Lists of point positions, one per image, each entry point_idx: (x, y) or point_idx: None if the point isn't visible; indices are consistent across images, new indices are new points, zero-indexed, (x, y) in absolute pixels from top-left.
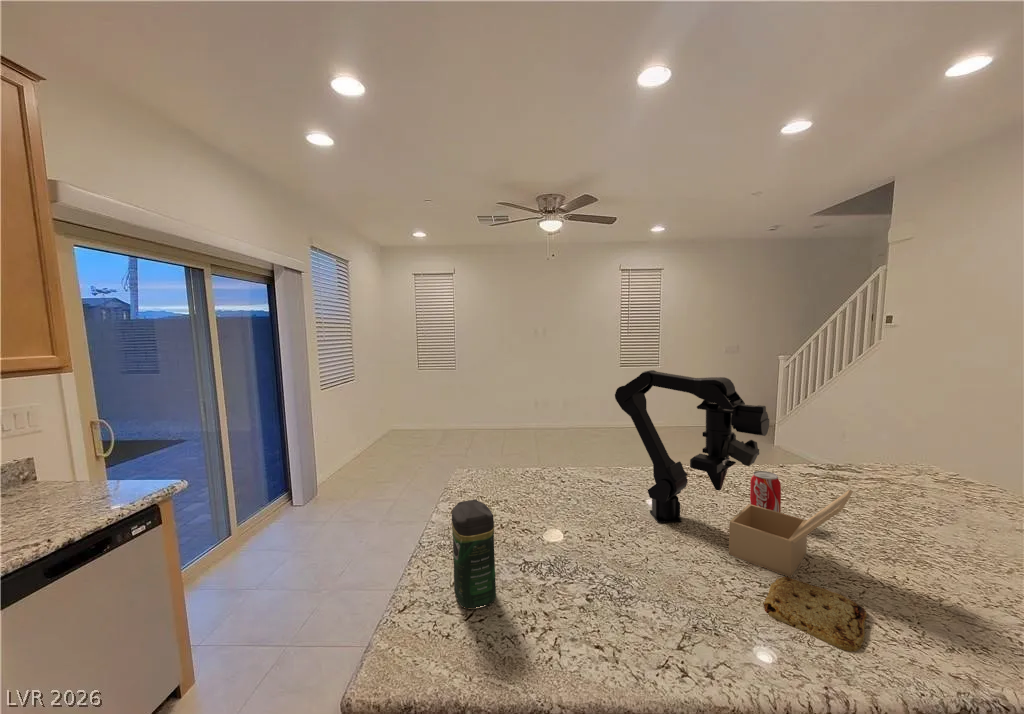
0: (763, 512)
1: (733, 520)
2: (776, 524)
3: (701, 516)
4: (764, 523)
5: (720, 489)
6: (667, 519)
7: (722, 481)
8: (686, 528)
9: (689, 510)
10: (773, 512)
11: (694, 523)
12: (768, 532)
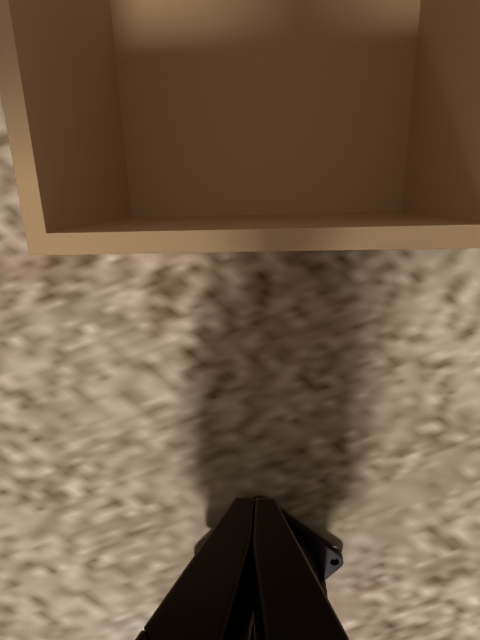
0: (47, 130)
1: (466, 229)
2: (66, 41)
3: (129, 453)
4: (87, 133)
5: (260, 501)
6: (305, 542)
7: (237, 580)
8: (298, 456)
9: (116, 510)
10: (17, 33)
11: (222, 450)
12: (105, 115)
